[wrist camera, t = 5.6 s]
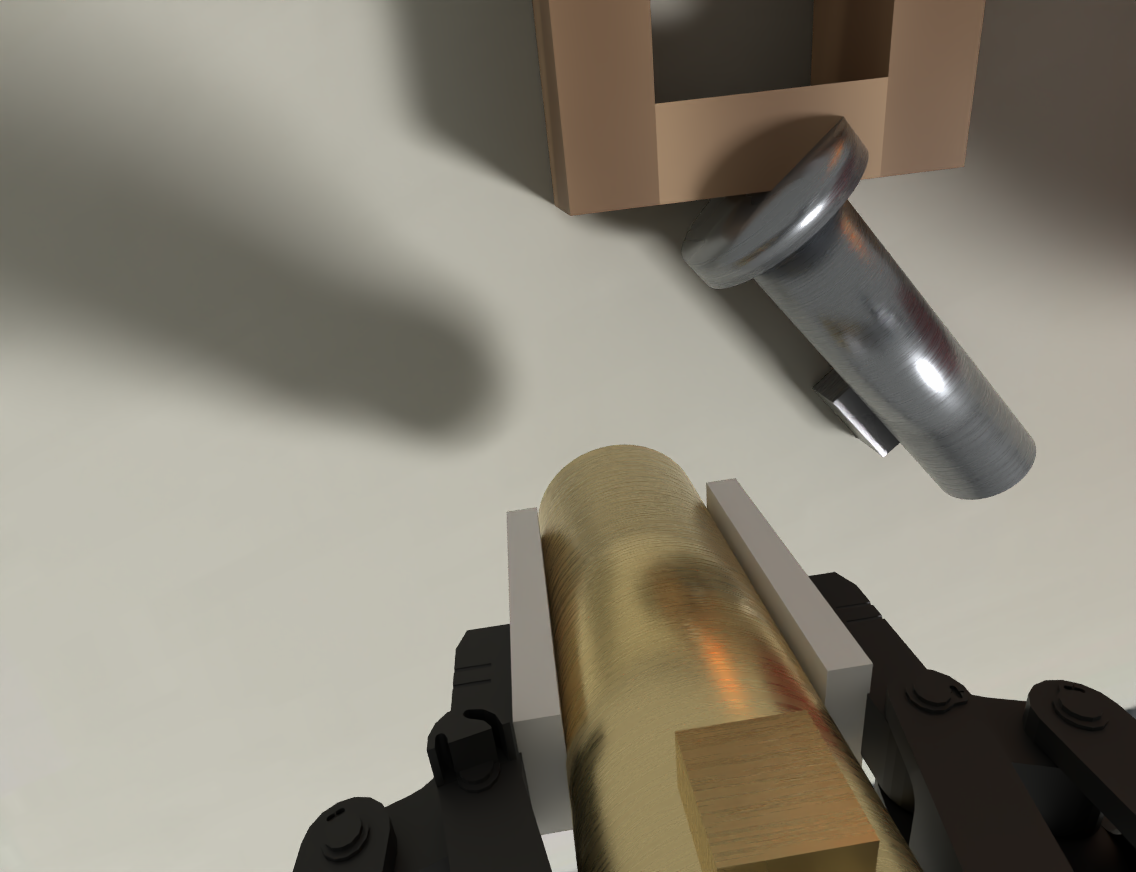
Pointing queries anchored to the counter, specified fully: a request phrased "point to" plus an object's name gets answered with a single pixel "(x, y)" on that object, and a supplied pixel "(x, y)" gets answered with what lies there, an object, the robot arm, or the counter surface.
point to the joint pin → (688, 693)
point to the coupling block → (750, 102)
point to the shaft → (863, 321)
